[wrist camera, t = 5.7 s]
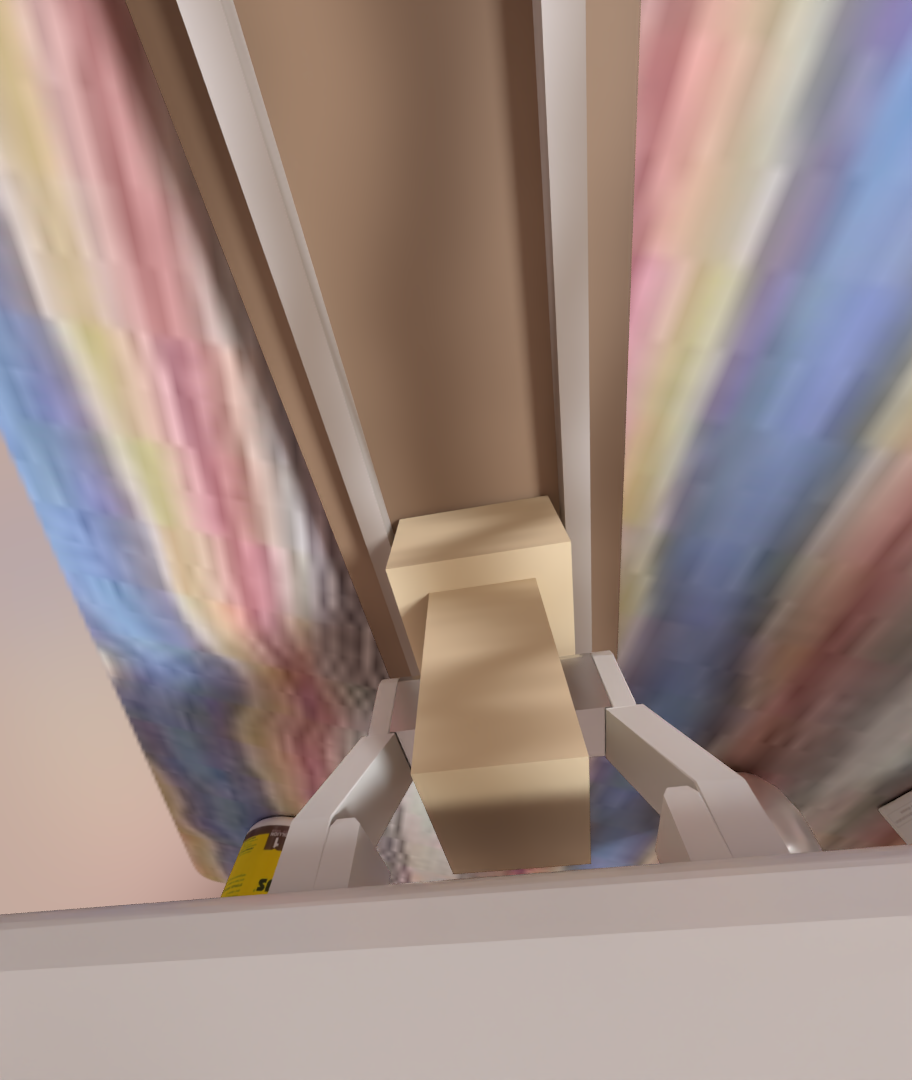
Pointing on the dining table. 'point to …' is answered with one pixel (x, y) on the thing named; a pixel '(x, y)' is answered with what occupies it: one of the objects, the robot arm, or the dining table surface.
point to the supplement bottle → (258, 858)
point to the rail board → (427, 253)
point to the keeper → (494, 684)
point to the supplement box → (900, 816)
